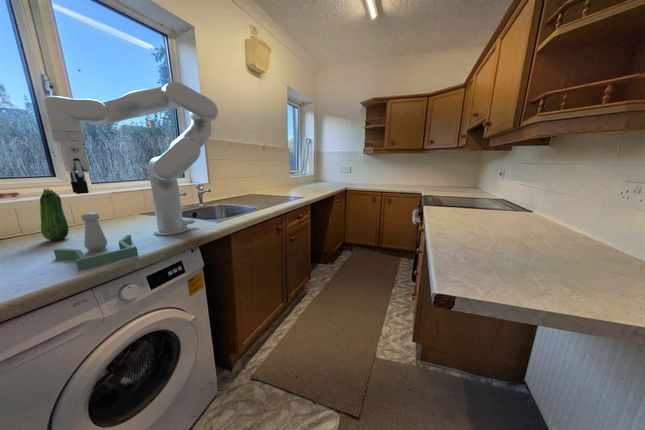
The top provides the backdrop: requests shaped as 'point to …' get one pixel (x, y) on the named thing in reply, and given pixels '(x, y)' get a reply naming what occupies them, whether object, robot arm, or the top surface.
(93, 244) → the salt shaker
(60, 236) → the vegetable
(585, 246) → the top surface
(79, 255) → the green angled channel piece
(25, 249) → the top surface
